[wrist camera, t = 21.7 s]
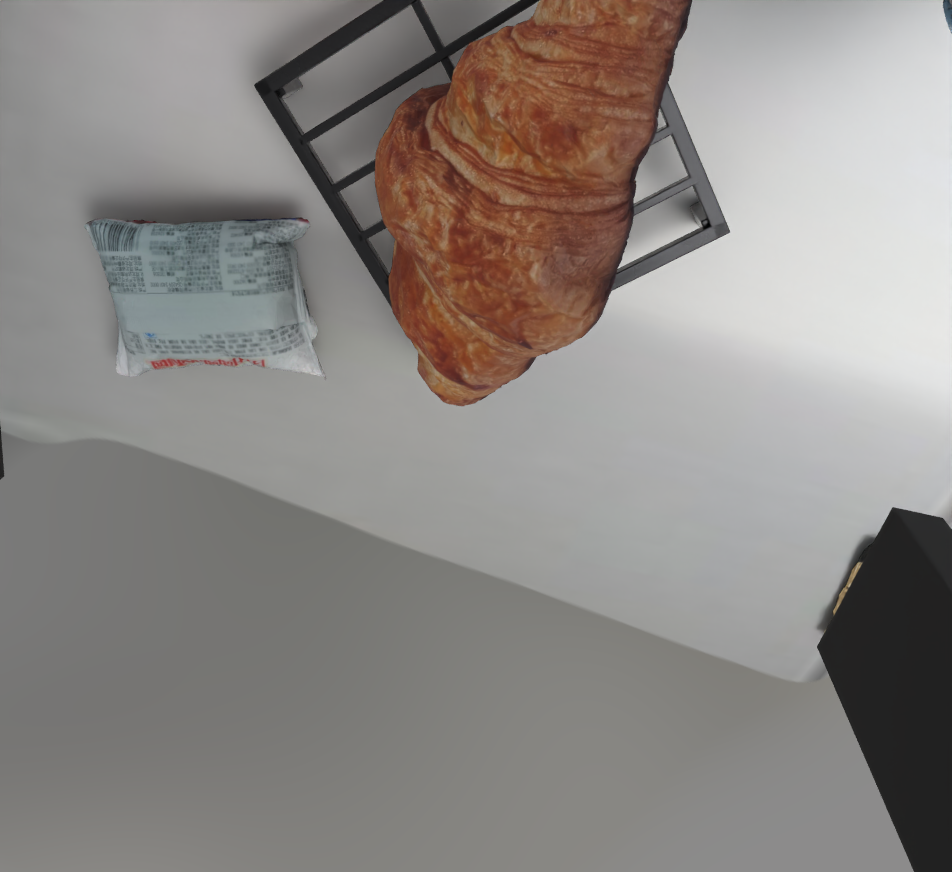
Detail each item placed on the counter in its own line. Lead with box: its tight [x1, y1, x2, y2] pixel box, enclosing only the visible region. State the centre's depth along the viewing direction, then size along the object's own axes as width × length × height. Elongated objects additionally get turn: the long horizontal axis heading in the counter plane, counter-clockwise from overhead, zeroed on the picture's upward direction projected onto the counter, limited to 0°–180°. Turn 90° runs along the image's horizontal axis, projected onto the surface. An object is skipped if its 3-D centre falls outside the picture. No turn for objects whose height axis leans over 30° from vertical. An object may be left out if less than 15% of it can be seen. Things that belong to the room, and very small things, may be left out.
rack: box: [254, 0, 730, 308], centre depth 39 cm, size 16×16×4 cm
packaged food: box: [84, 217, 326, 380], centre depth 43 cm, size 9×12×5 cm
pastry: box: [375, 0, 692, 406], centre depth 32 cm, size 17×15×8 cm
